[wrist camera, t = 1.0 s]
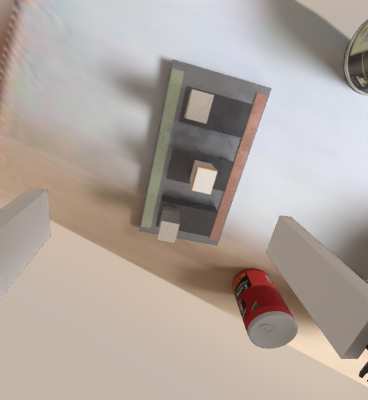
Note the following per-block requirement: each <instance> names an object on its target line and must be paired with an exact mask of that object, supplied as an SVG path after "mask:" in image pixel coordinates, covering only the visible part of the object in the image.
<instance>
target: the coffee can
mask: <svg viewBox="0 0 368 400" xmlns="http://www.w3.org/2000/svg"><path fill="white" fill-rule="evenodd" d="M344 71H345V76H346V79H347V81H348V83H349V85H350V86H351V87H352V88H353V89H354V90H355V91H357V92H358V93H361V94H364V95H368V20H366V21H365V22H364V23H363V24H362V25H361V26H360V28H359V29H358V30H357V31H356V33H355V34H354V36H353V37H352V39H351V41H350V43H349V45H348V48H347V51H346V55H345V62H344Z"/></svg>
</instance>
